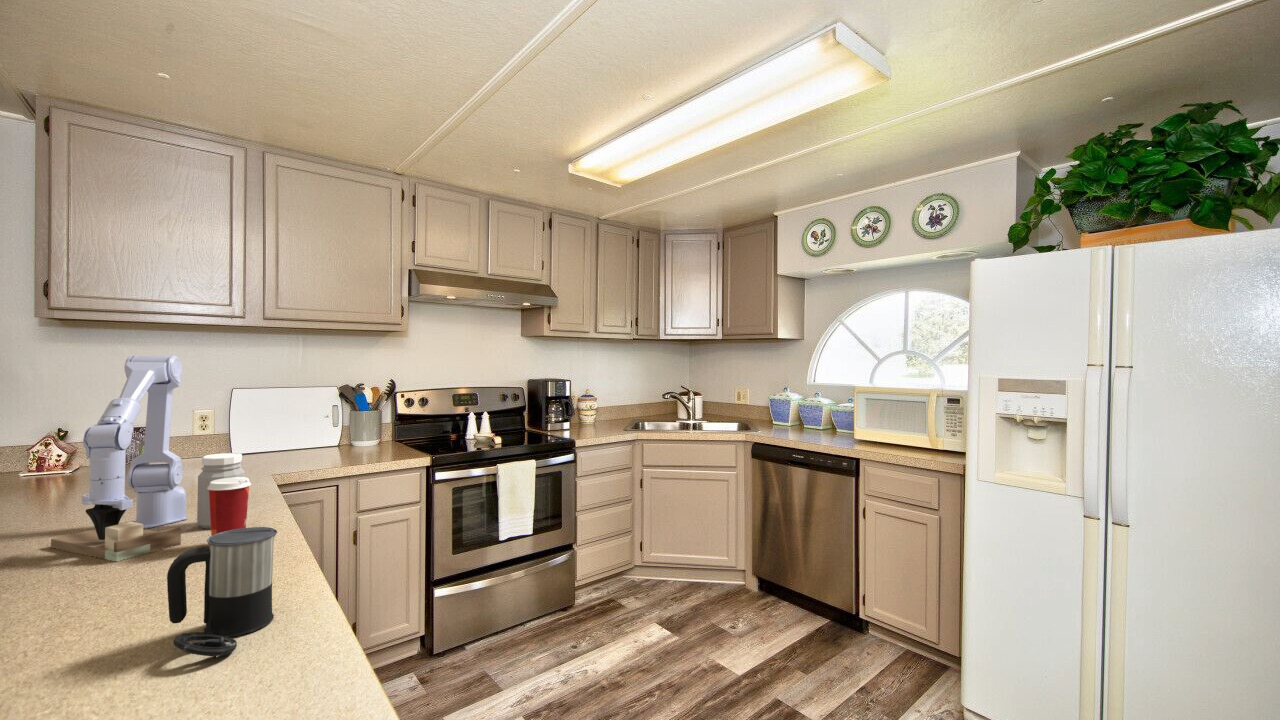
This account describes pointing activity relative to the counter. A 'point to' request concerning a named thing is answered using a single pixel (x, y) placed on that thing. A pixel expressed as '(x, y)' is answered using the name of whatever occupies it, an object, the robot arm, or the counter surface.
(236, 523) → the coffee cup
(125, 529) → the block
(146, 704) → the counter surface
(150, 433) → the robot arm
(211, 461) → the jar
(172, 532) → the deck
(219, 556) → the milk frother
